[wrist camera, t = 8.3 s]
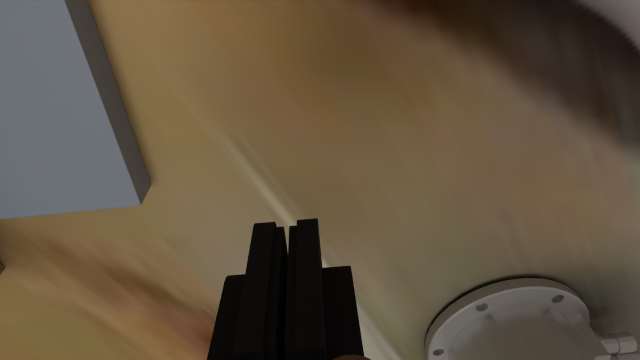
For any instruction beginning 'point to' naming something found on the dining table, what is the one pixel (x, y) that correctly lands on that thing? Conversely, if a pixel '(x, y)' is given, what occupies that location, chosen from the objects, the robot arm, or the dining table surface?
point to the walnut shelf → (1, 268)
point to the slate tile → (61, 115)
